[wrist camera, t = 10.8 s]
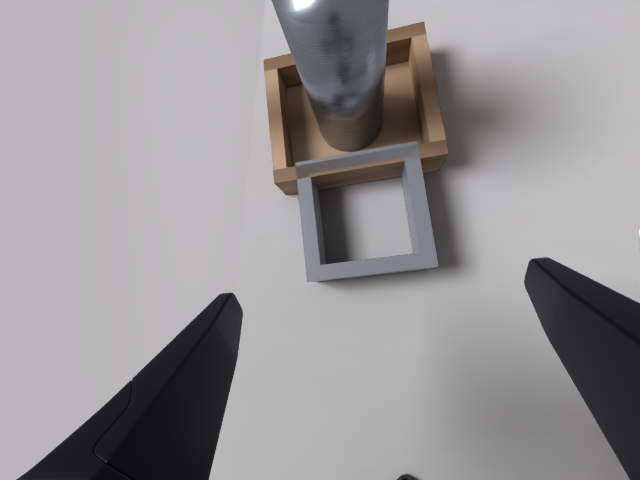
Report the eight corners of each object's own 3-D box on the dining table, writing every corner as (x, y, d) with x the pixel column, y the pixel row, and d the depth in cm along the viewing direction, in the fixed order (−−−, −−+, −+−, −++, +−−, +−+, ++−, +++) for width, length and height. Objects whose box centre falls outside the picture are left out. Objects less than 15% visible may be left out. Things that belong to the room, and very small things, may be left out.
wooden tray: (439, 170, 23) (448, 153, 20) (286, 194, 25) (274, 183, 22) (418, 52, 25) (423, 21, 22) (275, 84, 26) (263, 59, 23)
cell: (352, 164, 24) (326, 29, 11) (307, 126, 25) (234, -35, 12) (396, 116, 23) (421, -77, 11) (348, 80, 25) (320, -133, 12)
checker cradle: (430, 268, 22) (438, 266, 19) (315, 281, 23) (307, 281, 20) (411, 158, 23) (417, 140, 20) (304, 176, 25) (295, 162, 22)
